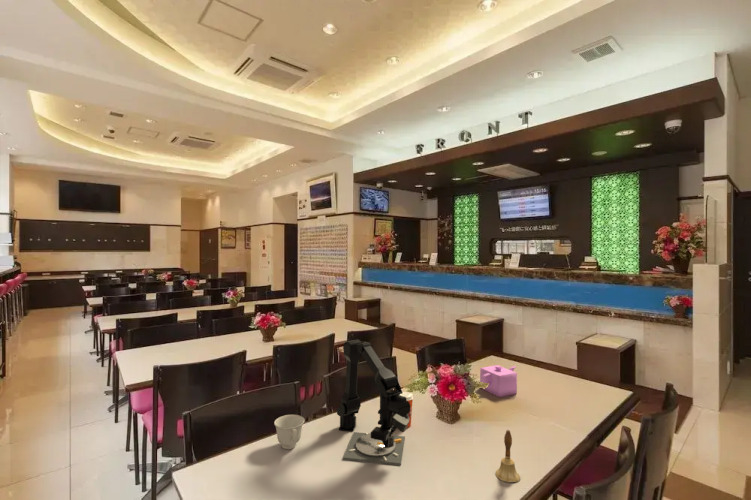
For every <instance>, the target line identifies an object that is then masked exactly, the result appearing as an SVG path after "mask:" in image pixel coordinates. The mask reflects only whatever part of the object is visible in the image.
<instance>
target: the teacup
mask: <svg viewBox="0 0 751 500" xmlns="http://www.w3.org/2000/svg"><path fill="white" fill-rule="evenodd" d="M273 423H274V424H273V425H274V426H275V429H276V430H275V431H276V438H277V442H278V444H280V445H281V448H282V449H284V450H292V449H294V448H296V447H297V443H299V441H300V440H301V437H302V430H303V425H304V423H305V418H304V417H303V416H302V415H298V414H285V415H282V416H279V417H278V418H276V419H275V420H274V422H273Z"/></svg>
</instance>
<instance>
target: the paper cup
mask: <svg viewBox="0 0 751 500" xmlns="http://www.w3.org/2000/svg"><path fill="white" fill-rule="evenodd" d="M402 392H403V393H402V394H400V395H401V396H404V397H406V401H408V402H409V403H410V412H409V413H408V416H409V421H410V422H409V423H408V426H407V428H410V427H411V426H412V415H413V414H412V413H413V400H414V396H413V393H412V392H409V391H402ZM407 428H406V429H407Z"/></svg>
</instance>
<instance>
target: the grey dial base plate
mask: <svg viewBox="0 0 751 500" xmlns="http://www.w3.org/2000/svg"><path fill="white" fill-rule="evenodd" d="M366 434H371V432H356V431H353V434H352V436H351V438H350V441H349V443H348V445H347V448H346V450H345V453H344V455H343V456H342V460H343V461H353V462H365V463H374V464H382V465H383V464H384V465H385V464H386V465H394V466H402V460H403V454H404V447H405V440H406V436H403V435H393V434H392V436H393V437H394V440H395V443H396V447H395V450H394V451H393V452H392V453H390V454H388V455H385V456H380V457H372V456H367V455H364V454H361V453H360V452H359V451H358V450H357V449H356V441H357V439H358V438H360V437H361V436H363V435H366Z"/></svg>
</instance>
